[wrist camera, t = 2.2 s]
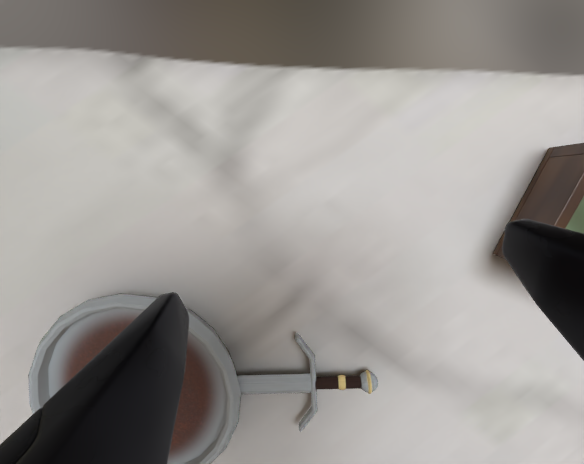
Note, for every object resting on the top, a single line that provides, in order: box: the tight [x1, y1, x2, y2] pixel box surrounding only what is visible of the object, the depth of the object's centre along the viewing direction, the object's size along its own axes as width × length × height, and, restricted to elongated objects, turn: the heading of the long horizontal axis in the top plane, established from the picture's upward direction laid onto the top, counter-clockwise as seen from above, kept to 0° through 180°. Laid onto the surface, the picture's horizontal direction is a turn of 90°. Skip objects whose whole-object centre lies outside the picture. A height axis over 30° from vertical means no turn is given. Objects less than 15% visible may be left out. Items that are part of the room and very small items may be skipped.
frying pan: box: [28, 294, 378, 464], centre depth 25 cm, size 17×3×28 cm
